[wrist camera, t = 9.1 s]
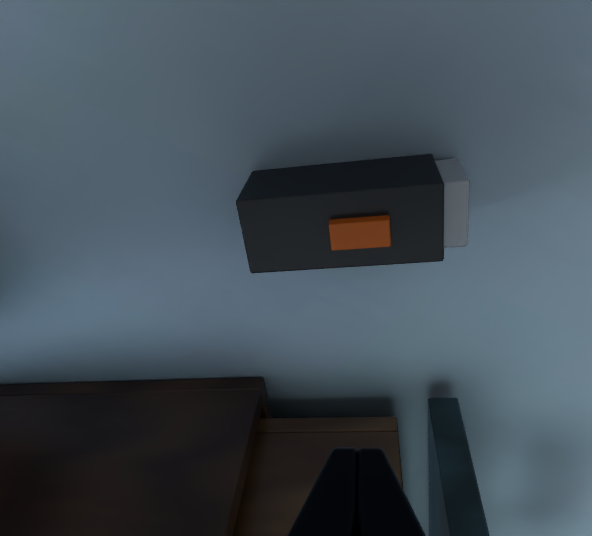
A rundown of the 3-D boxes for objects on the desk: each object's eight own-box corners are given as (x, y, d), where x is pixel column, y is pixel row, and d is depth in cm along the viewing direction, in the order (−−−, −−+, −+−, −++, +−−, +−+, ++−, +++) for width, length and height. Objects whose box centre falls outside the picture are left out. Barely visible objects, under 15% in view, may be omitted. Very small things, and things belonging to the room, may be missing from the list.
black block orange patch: (264, 236, 19) (247, 280, 16) (252, 170, 18) (232, 206, 15) (455, 222, 18) (473, 266, 15) (457, 150, 17) (476, 184, 14)
